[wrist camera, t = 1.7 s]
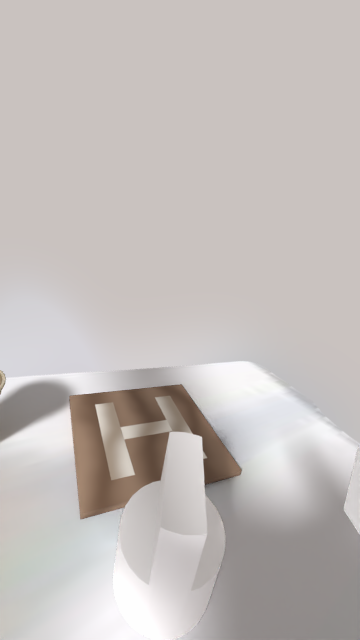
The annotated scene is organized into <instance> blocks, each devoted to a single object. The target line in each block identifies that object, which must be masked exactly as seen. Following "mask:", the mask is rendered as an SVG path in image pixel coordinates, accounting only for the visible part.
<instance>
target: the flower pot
mask: <svg viewBox="0 0 360 640" xmlns="http://www.w3.org/2000/svg"><path fill="white" fill-rule="evenodd" d="M5 381H6V377H5V374H4V373H3V372H2V371H0V394H1V390H2V388H3V387H4V385H5Z"/></svg>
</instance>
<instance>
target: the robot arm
mask: <svg viewBox="0 0 360 640" xmlns="http://www.w3.org/2000/svg"><path fill="white" fill-rule="evenodd" d="M343 510H344V511H345V513H346V514H347V516H348V517H349V519H350V521H351V522H352V524H353V525H354V527H355V528H356V530H357V532H358V533H359V535H360V446H358V449H357V454H356V458H355V462H354V466H353V470H352V475H351V479H350V483H349V487H348V492H347V496H346V500H345V504H344V509H343Z"/></svg>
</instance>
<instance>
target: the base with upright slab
mask: <svg viewBox="0 0 360 640" xmlns="http://www.w3.org/2000/svg"><path fill="white" fill-rule="evenodd" d="M225 539H226V534H225V530H224V526H223V521H222V519H221V517H220V515H219V513H218V510H217V508H216V507H215V506H214V504H213V503H212V502H211V500H210V499H209V498H208V497H207V496H206V495H205V483H204V465H203V447H202V437H200V436H198V435H194V434H190V433H186V432H170V433H169V438H168V443H167V449H166V454H165V460H164V465H163V470H162V476H161V481H156V482H152V483H150V484H148V485H146V486H144V487H142V488H141V489H139V490H138V491H137V492H136V493H135V494H134V495H133V496H132V497H131V498H130V500H129V501H128V503H127V504H126V506H125V508H124V511H123V513H122V516H121V519H120V526H119V534H118V541H117V549H116V557H115V565H114V574H113V585H114V593H115V598H116V601H117V603H118V606H119V609H120V611H121V613H122V615H123V616H124V617H125V619H126V620H127V622H128V623H129V625H130V626H131V627H133V628H134V629H135V630H136V631H138V632H139V633H140V634H142V635H143V636H146V637H149V638H152V639H155V640H174V639H176V638H178V637H181V636H183V635H185V634H187V633H188V632H189V631H190V630H191V629H193V628H194V627H195V626H196V625H197V624H198V623H199V621H200V619H201V618H202V616H203V614H204V613H205V611H206V609H207V606H208V603H209V600H210V597H211V594H212V591H213V588H214V585H215V582H216V579H217V576H218V573H219V570H220V567H221V563H222V560H223V556H224V553H225Z"/></svg>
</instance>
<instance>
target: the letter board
mask: <svg viewBox="0 0 360 640" xmlns="http://www.w3.org/2000/svg"><path fill="white" fill-rule="evenodd" d="M69 401H70V412H71V422H72V433H73V444H74V454H75V465H76V476H77V486H78V497H79V508H80V518H81V519H84V518H88V517H91V516H95V515H98V514H102V513H106V512H109V511H113V510H116V509H120V508H123V507H125V506H126V504H127V503H128V501H129V500H130V498H131V497H132V496H133V495H134V494H135V493H136V492H137V491H138V490H139V489H141V488H142V487H144V486H146V485H148V484H150V483H152V482H156V481H161V476H162V470H163V465H164V460H165V454H166V449H167V443H168V438H169V433H170V432H186V433H190V434H194V435H198V436H200V437H202V447H203V465H204V483H205V485H206V484H209V483H213V482H217V481H220V480H224V479H227V478H231V477H234V476H238V475H240V474H241V471H242V470H241V469H240V467H239V466H238V465H237V463H236V462H235V460H234V459H233V457H232V456H231V455H230V453H229V452H228V450H227V449H226V447H225V446H224V445H223V443H222V442H221V440H220V439H219V437H218V436H217V435H216V433H215V432H214V430H213V429H212V427H211V426H210V424H209V423H208V422H207V420H206V419H205V417H204V416H203V414H202V413H201V412H200V410H199V409H198V407H197V406H196V404H195V403H194V402H193V400H192V399H191V397H190V396H189V394H188V393H187V392H186V390H185V389H184V387H183V386H182V384H181V385H172V386H162V387H152V388H142V389H132V390H122V391H113V392H103V393H93V394H83V395H73V396H70V398H69Z"/></svg>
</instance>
